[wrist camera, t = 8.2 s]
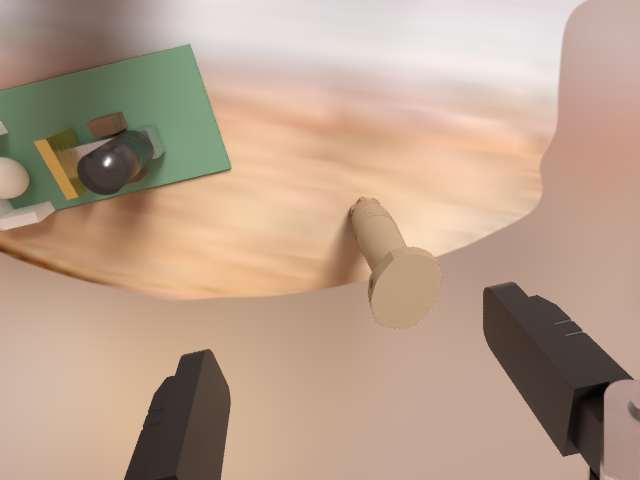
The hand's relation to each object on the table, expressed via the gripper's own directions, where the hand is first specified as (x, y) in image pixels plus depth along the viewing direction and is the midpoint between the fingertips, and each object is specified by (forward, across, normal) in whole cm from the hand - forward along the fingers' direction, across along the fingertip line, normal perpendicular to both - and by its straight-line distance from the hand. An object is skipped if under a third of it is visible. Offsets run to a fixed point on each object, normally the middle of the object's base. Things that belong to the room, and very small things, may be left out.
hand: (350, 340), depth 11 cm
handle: (+28, -5, +9) cm, 30 cm away
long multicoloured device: (+27, +17, -2) cm, 32 cm away
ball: (+26, +26, -2) cm, 37 cm away
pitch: (+28, +18, -4) cm, 34 cm away
